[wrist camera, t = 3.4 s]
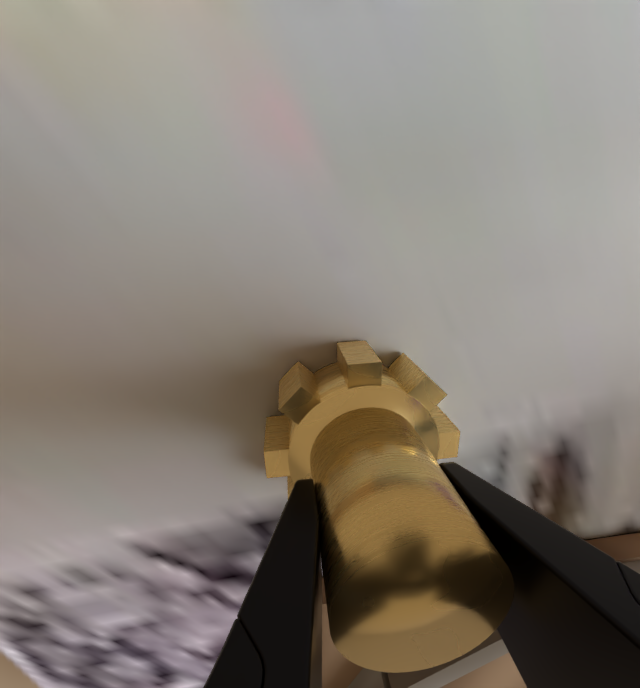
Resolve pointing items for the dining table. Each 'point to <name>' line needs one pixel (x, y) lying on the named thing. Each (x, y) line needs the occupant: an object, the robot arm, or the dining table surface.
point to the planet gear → (387, 512)
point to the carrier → (465, 671)
